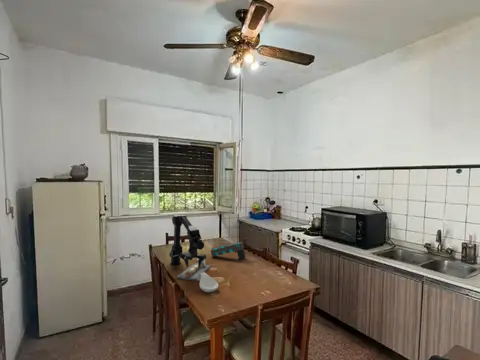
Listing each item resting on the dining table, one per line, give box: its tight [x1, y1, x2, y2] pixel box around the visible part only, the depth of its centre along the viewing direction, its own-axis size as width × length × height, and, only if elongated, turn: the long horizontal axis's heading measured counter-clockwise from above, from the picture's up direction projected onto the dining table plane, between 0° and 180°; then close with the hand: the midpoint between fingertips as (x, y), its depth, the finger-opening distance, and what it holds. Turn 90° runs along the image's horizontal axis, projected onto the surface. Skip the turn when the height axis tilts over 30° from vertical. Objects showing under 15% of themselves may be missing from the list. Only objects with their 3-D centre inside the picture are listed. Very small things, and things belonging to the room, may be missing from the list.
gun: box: [210, 241, 247, 261], centre depth 228 cm, size 7×29×15 cm, turn 76°
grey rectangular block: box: [196, 258, 206, 266], centre depth 204 cm, size 3×6×5 cm, turn 74°
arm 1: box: [185, 262, 198, 277], centre depth 192 cm, size 22×1×2 cm, turn 165°
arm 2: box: [187, 262, 203, 277], centre depth 191 cm, size 22×1×2 cm, turn 163°
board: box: [176, 263, 212, 281], centre depth 194 cm, size 14×28×1 cm, turn 164°
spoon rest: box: [196, 272, 219, 293], centre depth 169 cm, size 24×12×7 cm, turn 28°
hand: (193, 267), depth 191 cm, fingers open, 9 cm apart
